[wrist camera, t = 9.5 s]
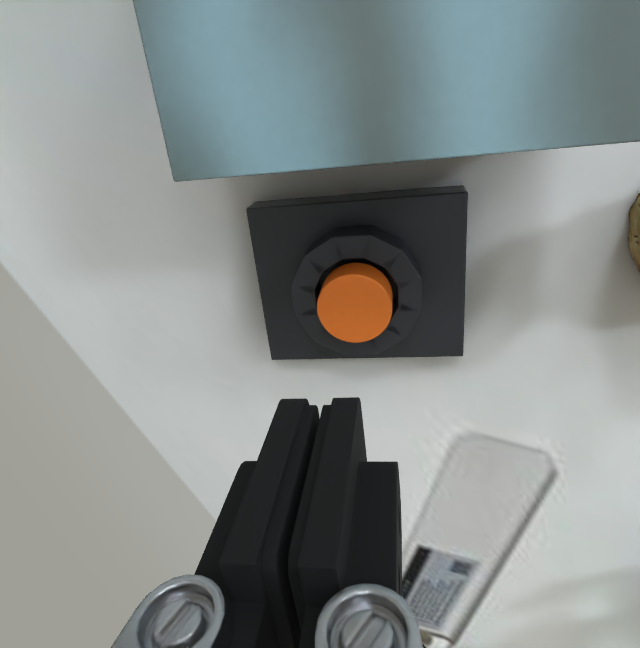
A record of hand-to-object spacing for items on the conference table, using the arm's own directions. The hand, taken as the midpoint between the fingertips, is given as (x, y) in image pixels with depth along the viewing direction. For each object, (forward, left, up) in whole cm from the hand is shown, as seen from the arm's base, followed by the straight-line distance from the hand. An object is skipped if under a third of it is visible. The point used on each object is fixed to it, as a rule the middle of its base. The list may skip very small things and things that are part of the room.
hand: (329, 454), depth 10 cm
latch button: (-1, -2, -15) cm, 15 cm away
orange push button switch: (-1, -2, -18) cm, 18 cm away
